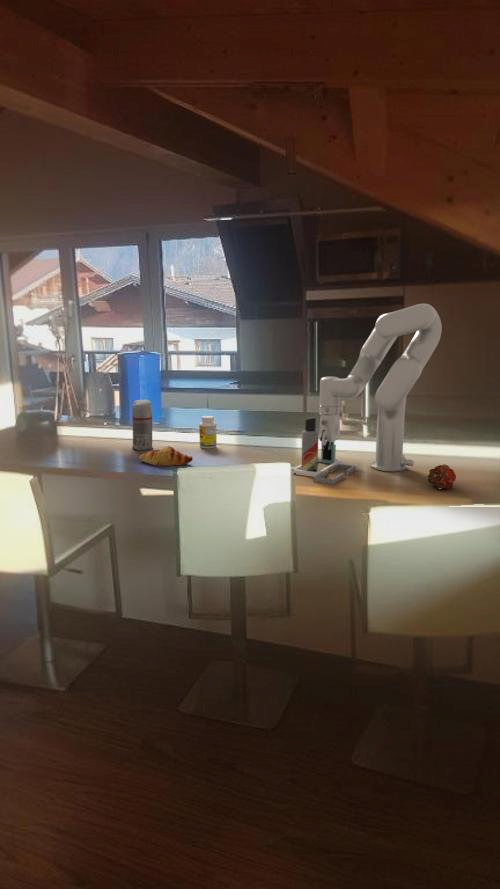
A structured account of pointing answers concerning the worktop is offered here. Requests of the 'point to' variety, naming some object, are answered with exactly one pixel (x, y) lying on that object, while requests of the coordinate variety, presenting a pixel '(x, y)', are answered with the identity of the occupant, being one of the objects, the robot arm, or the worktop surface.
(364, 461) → the worktop surface
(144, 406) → the spray can
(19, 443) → the worktop surface
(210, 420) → the supplement bottle
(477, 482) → the worktop surface
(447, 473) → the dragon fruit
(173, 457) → the croissant
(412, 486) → the worktop surface
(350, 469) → the grey open frame
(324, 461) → the lane sled
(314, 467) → the lotion bottle
